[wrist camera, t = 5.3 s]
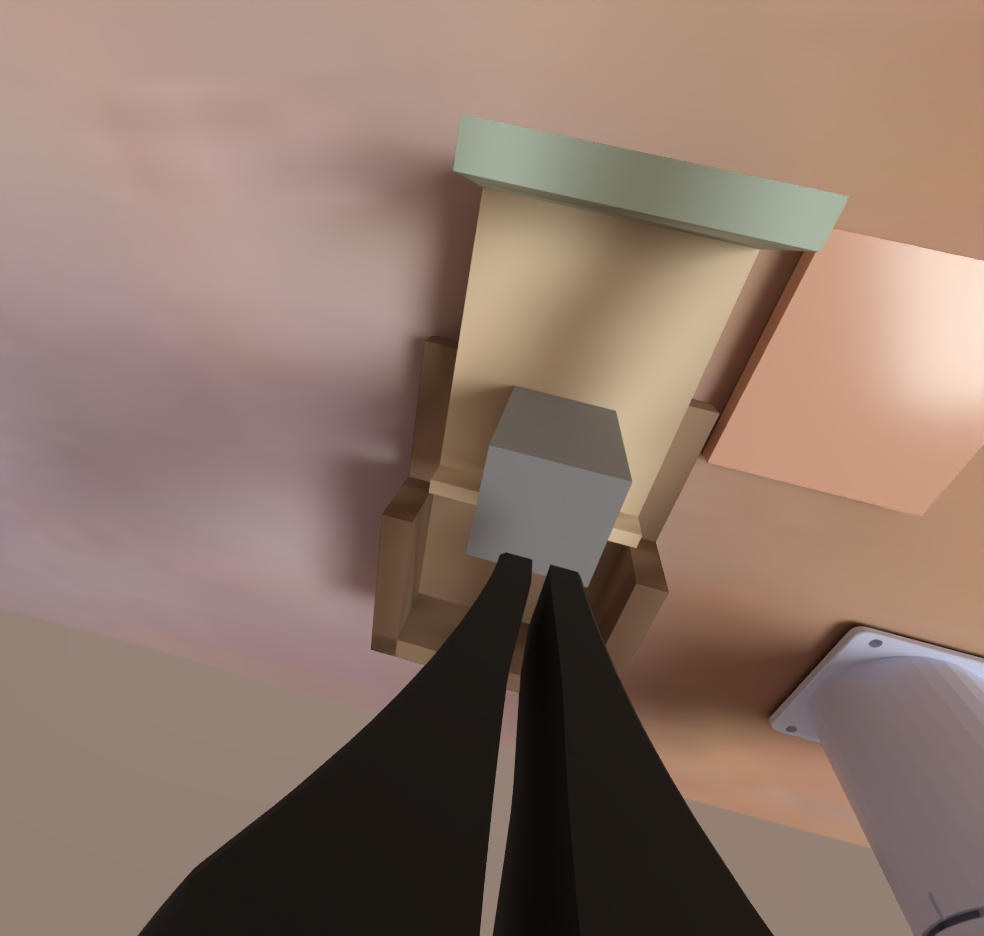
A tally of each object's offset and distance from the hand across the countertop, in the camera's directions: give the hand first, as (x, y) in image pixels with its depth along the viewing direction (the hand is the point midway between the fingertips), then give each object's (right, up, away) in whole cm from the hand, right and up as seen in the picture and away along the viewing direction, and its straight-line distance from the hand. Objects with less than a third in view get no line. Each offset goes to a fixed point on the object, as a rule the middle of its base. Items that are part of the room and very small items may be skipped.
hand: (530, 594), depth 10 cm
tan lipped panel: (+2, +6, +5) cm, 9 cm away
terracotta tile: (+12, +6, +5) cm, 15 cm away
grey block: (+1, +4, +6) cm, 7 cm away
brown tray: (+1, +1, +10) cm, 10 cm away
